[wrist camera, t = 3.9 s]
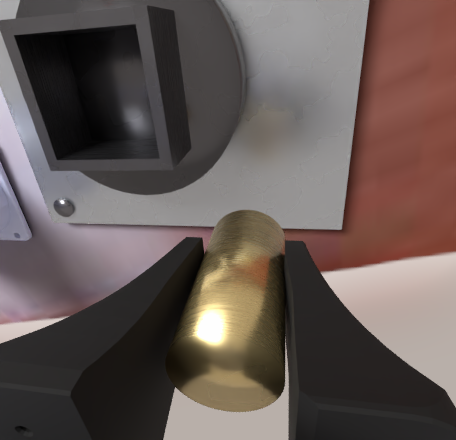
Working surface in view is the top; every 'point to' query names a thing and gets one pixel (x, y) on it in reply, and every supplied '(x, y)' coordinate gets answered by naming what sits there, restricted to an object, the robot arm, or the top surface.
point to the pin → (234, 318)
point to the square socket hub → (129, 87)
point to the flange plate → (243, 127)
